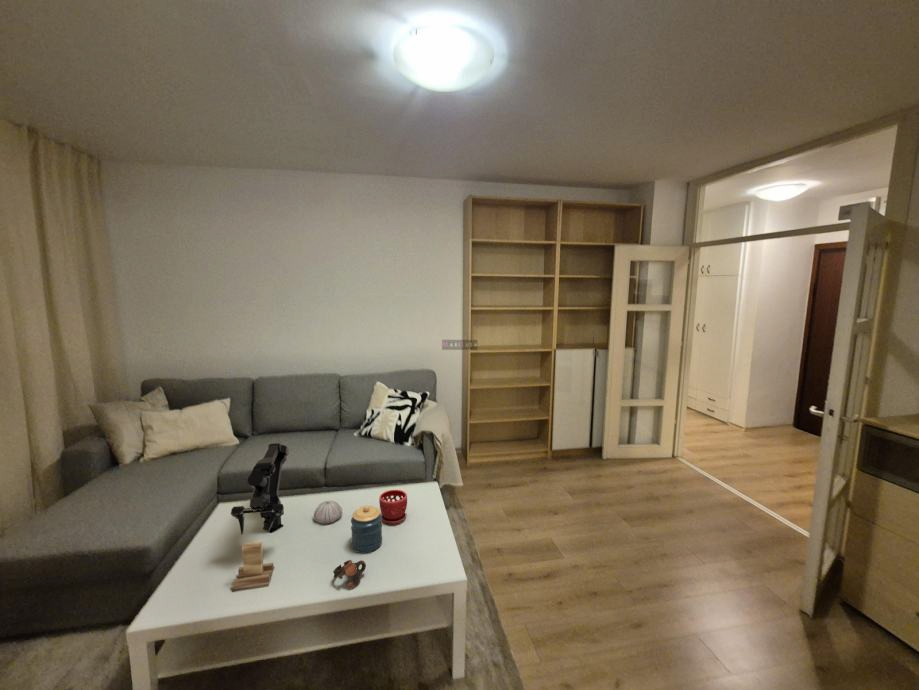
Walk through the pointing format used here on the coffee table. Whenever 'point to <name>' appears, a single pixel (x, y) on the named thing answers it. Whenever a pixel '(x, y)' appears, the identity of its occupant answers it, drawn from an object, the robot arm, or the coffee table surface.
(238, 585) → the mating board
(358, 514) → the canister
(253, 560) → the wooden block
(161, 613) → the coffee table surface
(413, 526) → the coffee table surface
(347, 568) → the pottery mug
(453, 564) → the coffee table surface
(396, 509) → the plant pot
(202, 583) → the coffee table surface
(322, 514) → the sea urchin shell
